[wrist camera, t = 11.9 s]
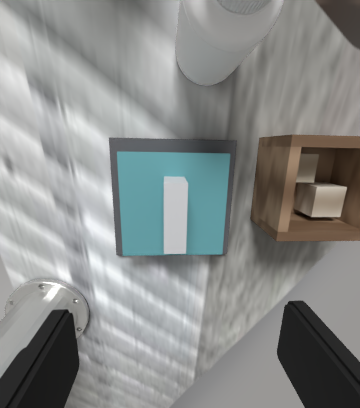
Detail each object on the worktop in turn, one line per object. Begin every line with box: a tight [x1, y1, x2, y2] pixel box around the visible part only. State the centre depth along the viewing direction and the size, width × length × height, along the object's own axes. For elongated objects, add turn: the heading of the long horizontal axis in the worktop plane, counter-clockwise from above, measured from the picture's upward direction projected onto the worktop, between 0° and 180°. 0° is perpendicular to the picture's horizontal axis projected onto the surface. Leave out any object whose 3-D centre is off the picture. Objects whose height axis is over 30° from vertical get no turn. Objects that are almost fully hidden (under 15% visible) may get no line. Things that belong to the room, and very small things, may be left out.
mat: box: [109, 138, 237, 255], centre depth 31 cm, size 17×17×1 cm
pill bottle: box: [175, 0, 284, 86], centre depth 19 cm, size 8×8×15 cm
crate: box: [250, 135, 360, 241], centre depth 28 cm, size 12×12×8 cm
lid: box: [117, 152, 230, 256], centre depth 26 cm, size 14×14×8 cm
